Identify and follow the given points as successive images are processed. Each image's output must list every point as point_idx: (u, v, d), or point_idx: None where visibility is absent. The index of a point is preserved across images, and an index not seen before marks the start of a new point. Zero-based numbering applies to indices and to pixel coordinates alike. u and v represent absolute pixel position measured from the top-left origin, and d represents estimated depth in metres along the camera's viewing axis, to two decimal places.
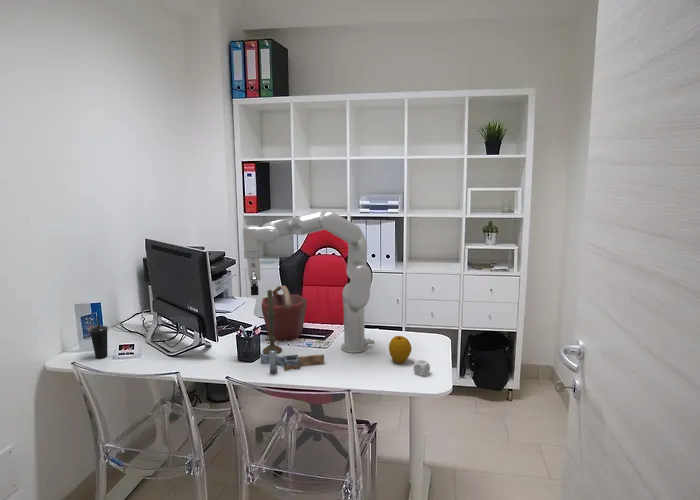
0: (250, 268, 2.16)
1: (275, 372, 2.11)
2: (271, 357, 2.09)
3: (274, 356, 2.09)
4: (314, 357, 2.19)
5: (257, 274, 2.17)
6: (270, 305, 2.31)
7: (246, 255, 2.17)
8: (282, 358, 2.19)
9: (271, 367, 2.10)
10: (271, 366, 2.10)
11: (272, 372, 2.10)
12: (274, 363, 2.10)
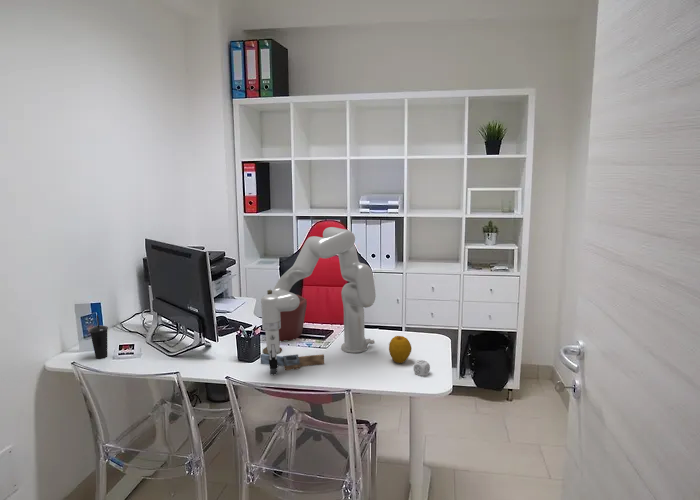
0: (269, 341, 2.04)
1: (275, 372, 2.11)
2: None
3: None
4: (314, 357, 2.19)
5: (276, 347, 2.05)
6: None
7: (265, 327, 2.05)
8: (282, 358, 2.19)
9: None
10: None
11: (272, 372, 2.10)
12: None
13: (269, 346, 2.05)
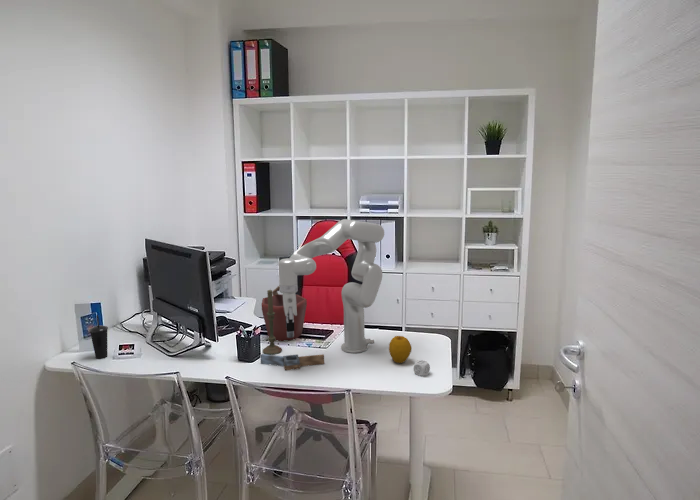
0: (286, 303, 2.08)
1: (292, 335, 2.15)
2: None
3: None
4: (314, 357, 2.19)
5: (294, 309, 2.09)
6: (270, 305, 2.31)
7: (282, 290, 2.09)
8: (282, 358, 2.19)
9: None
10: None
11: (289, 335, 2.14)
12: None
13: (286, 309, 2.08)
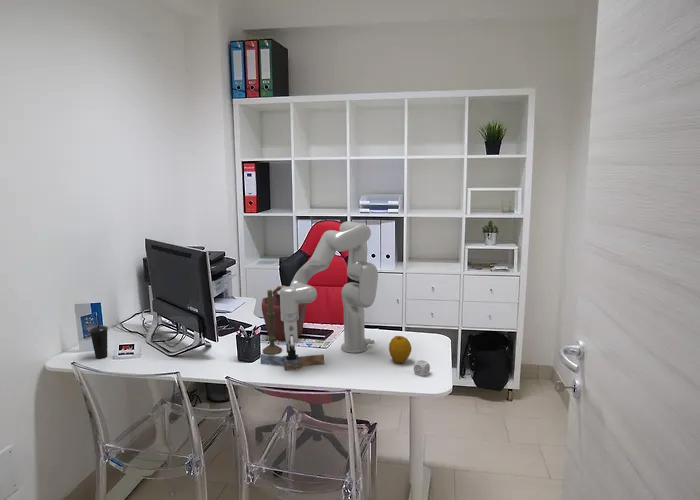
0: (288, 331, 2.10)
1: None
2: None
3: None
4: (314, 357, 2.19)
5: (295, 337, 2.11)
6: (270, 305, 2.31)
7: (283, 318, 2.11)
8: (282, 358, 2.19)
9: None
10: None
11: None
12: None
13: (288, 337, 2.11)
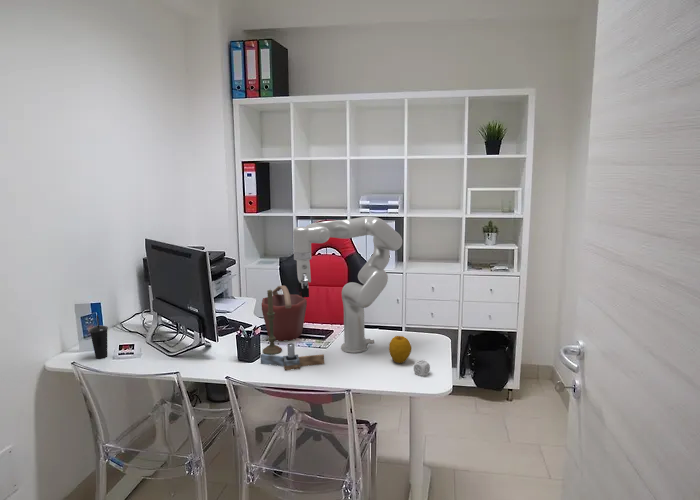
0: (301, 270, 2.13)
1: None
2: (289, 351, 2.16)
3: (292, 350, 2.16)
4: (314, 357, 2.19)
5: (308, 276, 2.14)
6: (270, 305, 2.31)
7: (296, 257, 2.14)
8: (282, 358, 2.19)
9: None
10: (289, 359, 2.17)
11: None
12: (292, 356, 2.16)
13: (301, 275, 2.13)
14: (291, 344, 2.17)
